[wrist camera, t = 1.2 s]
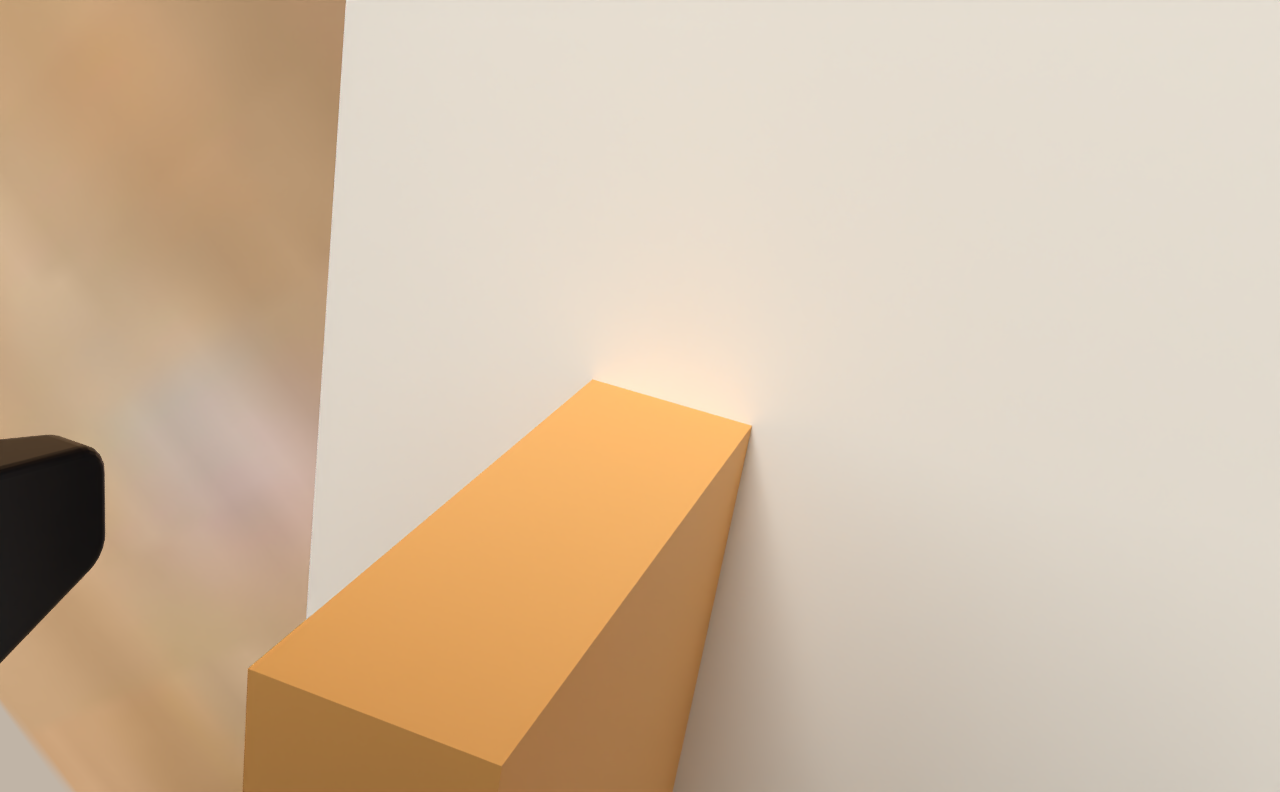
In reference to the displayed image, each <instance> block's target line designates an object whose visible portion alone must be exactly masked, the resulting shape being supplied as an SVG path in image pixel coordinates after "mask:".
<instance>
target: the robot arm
mask: <svg viewBox="0 0 1280 792" xmlns="http://www.w3.org/2000/svg"><path fill="white" fill-rule="evenodd" d="M104 541H105V472H104V463H103V461H102V458H101V456H100V454H99V453H98V452H97V451H96V450H95V449H93V448H92V447H89V446H86V445H83V444H80V443H77V442H75V441H72V440H69V439H66V438H63V437H60V436H55V435H40V436H30V437H20V438H10V439H0V663H1V662H2V661H3V660H4V659H5V658H6V657H7V656H8V655H9V653H10V652H11V651H12V650H13V649H14V648H15V647H16V646H17V645H18V644H19V643H20V642H21V641H22V640H23V639H24V638H25V637H26V636H27V635H28V634H29V633H30V632H31V631H32V630H33V629H34V627H35V626H36V625H37V624H38V623H39V622H40V621H41V620H42V619H43V618H44V617H45V616H46V615H47V614H48V613H49V612H50V611H51V610H52V609H53V608H54V607H55V606H56V605H57V604H58V603H59V601H60V600H61V599H62V598H63V597H64V596H65V595H66V594H67V593H68V592H69V591H70V590H71V589H72V588H73V587H74V586H75V585H76V584H77V583H78V582H79V581H80V580H81V579H82V578H83V577H84V575H85V574H86V573H87V572H88V571H89V570H90V569H91V568H92V567H93V566H94V564H95V563H96V561H97V559H98V558H99V556H100V553H101V551H102V549H103V545H104Z"/></svg>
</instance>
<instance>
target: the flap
mask: <svg viewBox="0 0 1280 792" xmlns="http://www.w3.org/2000/svg"><path fill="white" fill-rule="evenodd" d="M243 792H1280V0H346V9H345V25H344V40H343V56H342V71H341V87H340V102H339V118H338V134H337V149H336V165H335V180H334V196H333V211H332V227H331V242H330V258H329V273H328V289H327V304H326V320H325V335H324V351H323V366H322V382H321V397H320V413H319V428H318V444H317V460H316V475H315V491H314V506H313V522H312V537H311V553H310V568H309V584H308V599H307V615H306V620H305V621H304V622H303V623H302V624H301V625H299V626H298V627H297V628H296V629H295V630H293V631H292V632H291V633H290V634H289V635H288V636H286V637H285V638H284V639H283V640H282V641H280V642H279V643H278V644H277V645H276V646H274V647H273V648H272V649H271V650H270V651H268V652H267V653H266V654H265V655H264V656H263V657H261V658H260V659H259V660H258V661H257V662H255V663H254V664H253V665H252V666H251V667H249V668H248V680H247V704H246V727H245V750H244V773H243Z"/></svg>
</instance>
